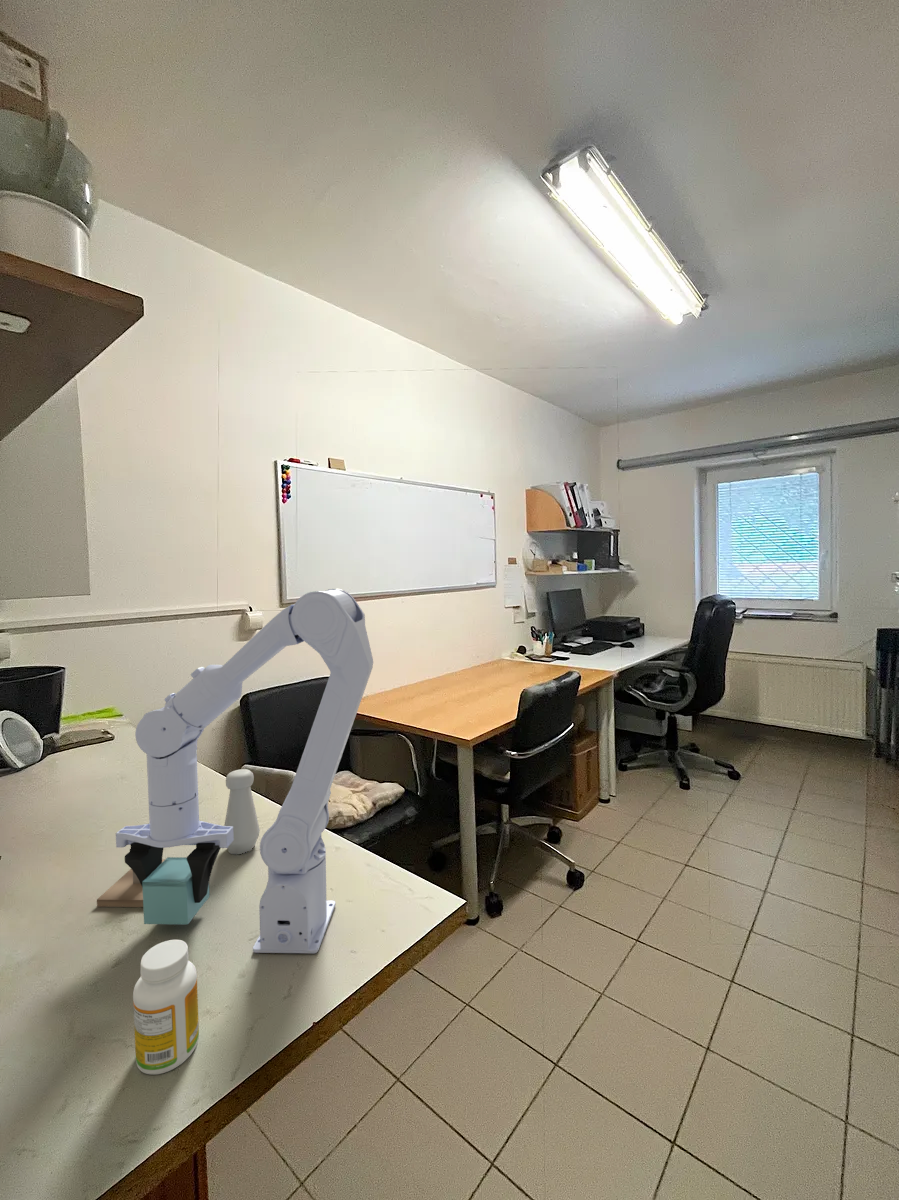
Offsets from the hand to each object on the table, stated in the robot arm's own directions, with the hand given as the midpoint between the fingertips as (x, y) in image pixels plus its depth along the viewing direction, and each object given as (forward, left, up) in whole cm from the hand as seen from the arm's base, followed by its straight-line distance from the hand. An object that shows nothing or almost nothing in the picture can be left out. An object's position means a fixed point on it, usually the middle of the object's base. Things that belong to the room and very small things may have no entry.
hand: (177, 897), depth 68 cm
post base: (+8, +9, -3) cm, 13 cm away
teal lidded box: (0, 0, -2) cm, 2 cm away
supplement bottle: (-18, -9, -4) cm, 20 cm away
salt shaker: (+18, -1, -4) cm, 19 cm away
